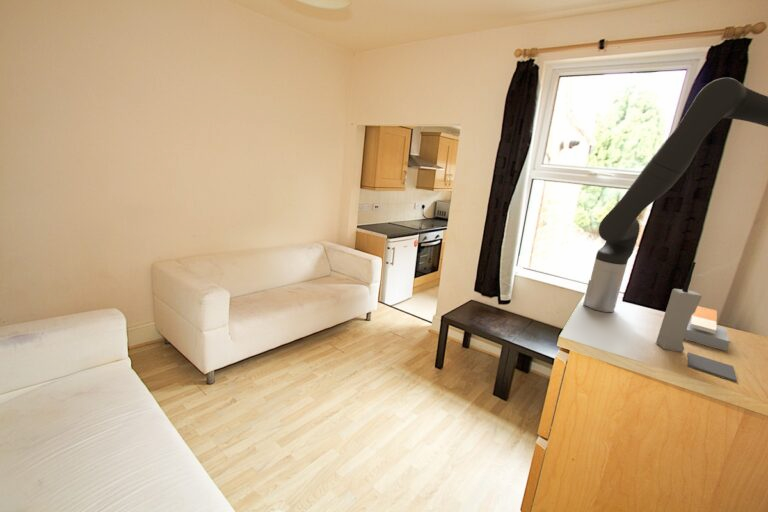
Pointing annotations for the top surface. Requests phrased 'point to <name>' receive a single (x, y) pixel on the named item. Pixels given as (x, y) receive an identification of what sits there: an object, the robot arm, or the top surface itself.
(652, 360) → the top surface
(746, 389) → the top surface
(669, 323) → the vintage mobile phone
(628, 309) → the top surface
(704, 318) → the block
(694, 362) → the rubber mat
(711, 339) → the block
